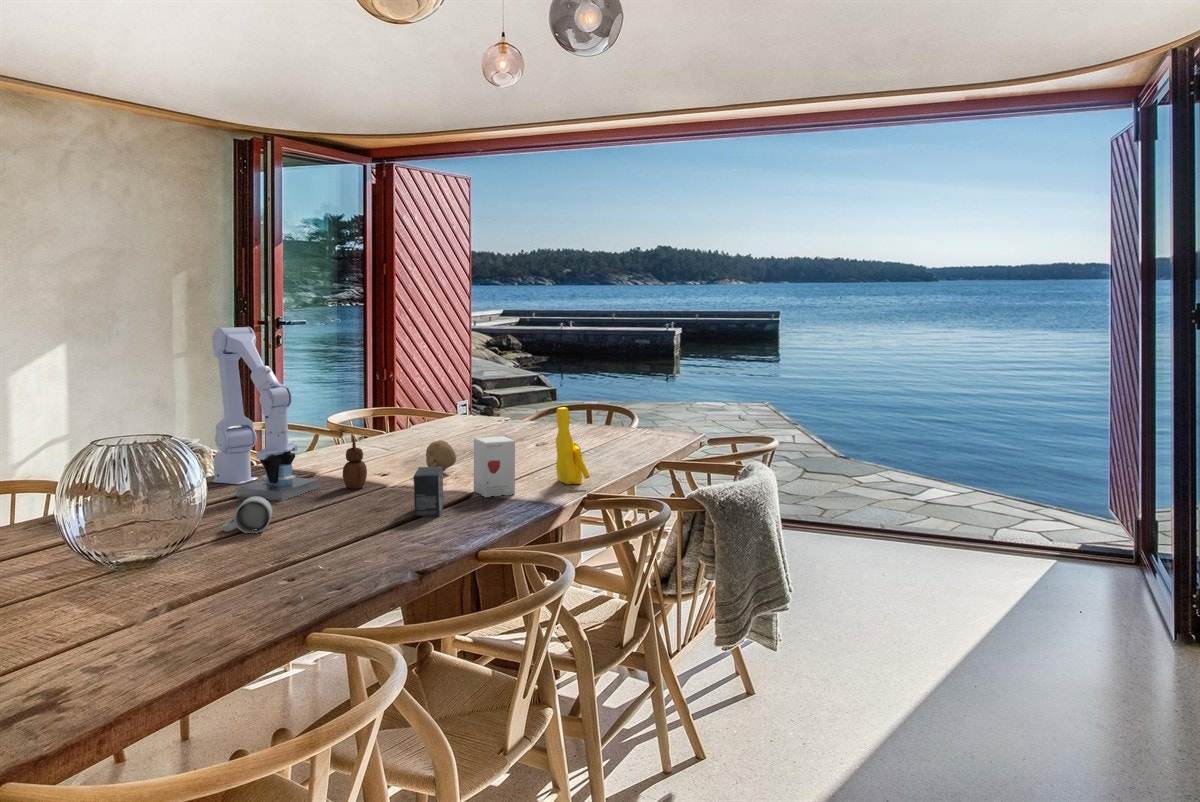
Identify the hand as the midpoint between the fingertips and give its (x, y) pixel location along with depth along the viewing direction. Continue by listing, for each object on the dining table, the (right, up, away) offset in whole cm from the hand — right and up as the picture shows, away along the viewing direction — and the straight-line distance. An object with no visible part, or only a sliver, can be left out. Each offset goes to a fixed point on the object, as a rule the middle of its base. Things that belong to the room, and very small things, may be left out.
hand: (278, 481), depth 236 cm
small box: (+44, -6, -18) cm, 48 cm away
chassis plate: (0, -3, 0) cm, 3 cm away
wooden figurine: (+19, -3, +7) cm, 20 cm away
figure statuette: (+78, -2, +16) cm, 80 cm away
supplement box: (+58, -4, +2) cm, 58 cm away
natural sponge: (+39, 0, +28) cm, 48 cm away
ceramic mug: (+7, -8, -37) cm, 38 cm away
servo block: (0, -2, 0) cm, 2 cm away
